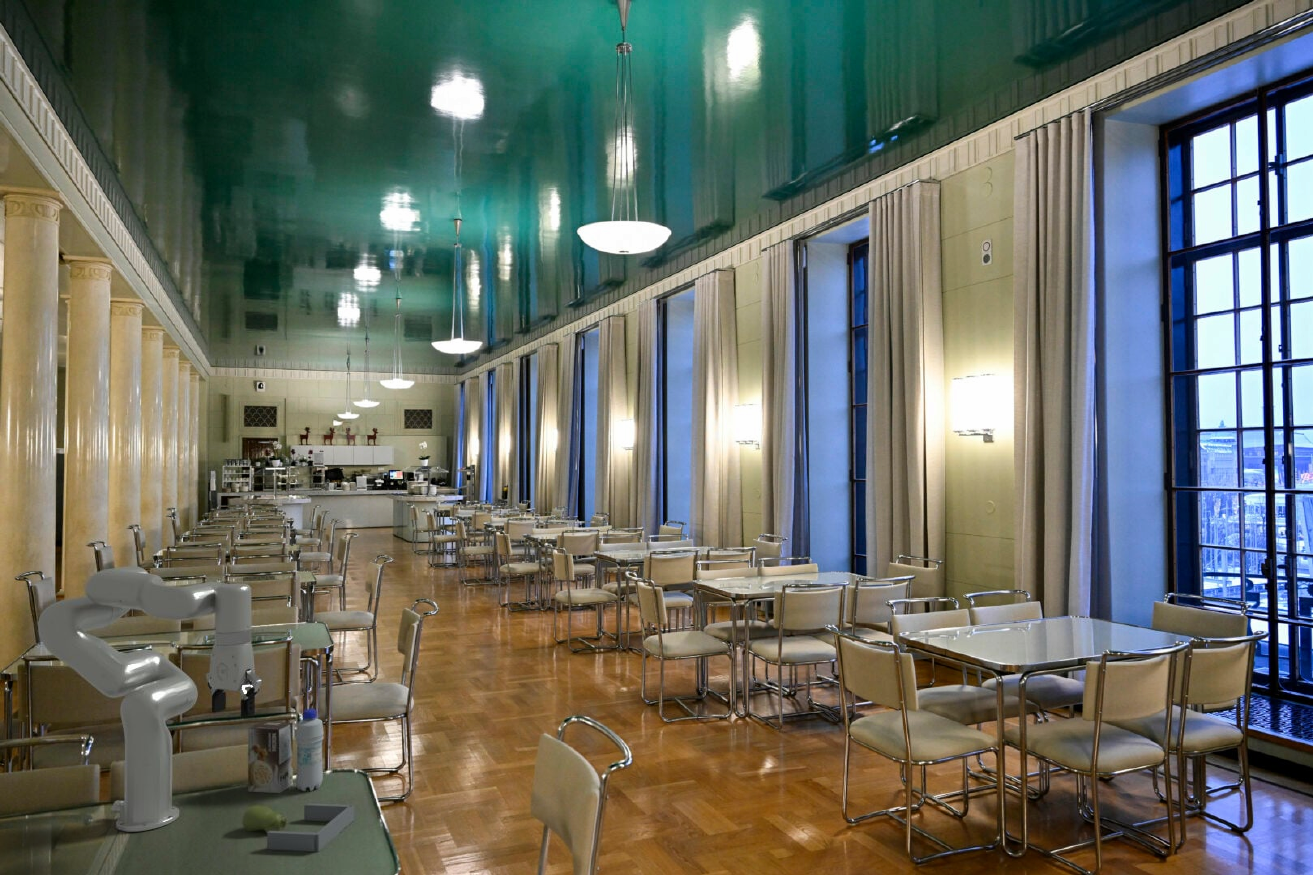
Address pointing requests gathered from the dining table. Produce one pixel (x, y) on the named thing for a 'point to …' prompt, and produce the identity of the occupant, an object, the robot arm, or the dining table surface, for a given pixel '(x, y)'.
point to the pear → (262, 819)
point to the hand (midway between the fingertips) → (233, 713)
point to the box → (313, 841)
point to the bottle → (309, 751)
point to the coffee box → (270, 757)
